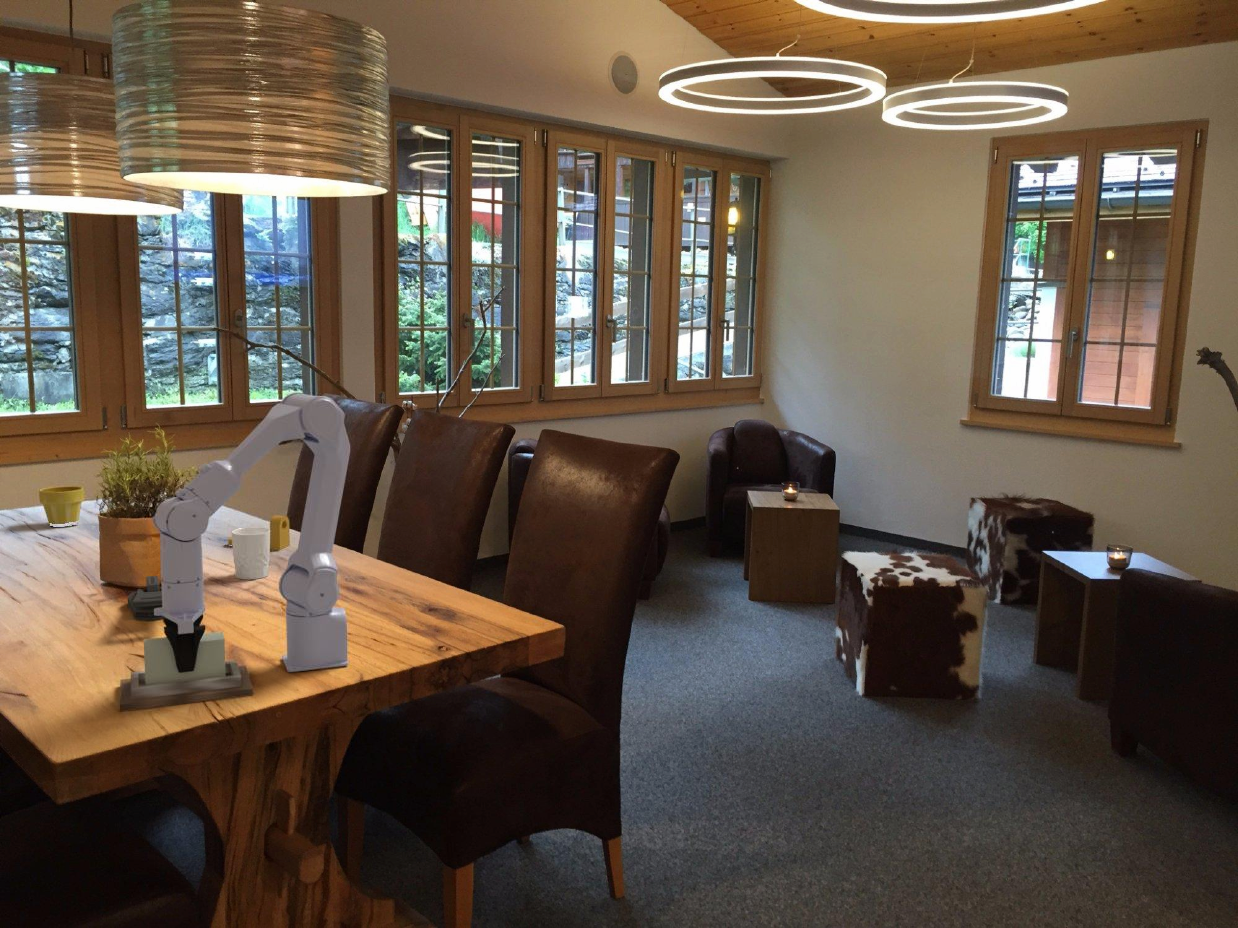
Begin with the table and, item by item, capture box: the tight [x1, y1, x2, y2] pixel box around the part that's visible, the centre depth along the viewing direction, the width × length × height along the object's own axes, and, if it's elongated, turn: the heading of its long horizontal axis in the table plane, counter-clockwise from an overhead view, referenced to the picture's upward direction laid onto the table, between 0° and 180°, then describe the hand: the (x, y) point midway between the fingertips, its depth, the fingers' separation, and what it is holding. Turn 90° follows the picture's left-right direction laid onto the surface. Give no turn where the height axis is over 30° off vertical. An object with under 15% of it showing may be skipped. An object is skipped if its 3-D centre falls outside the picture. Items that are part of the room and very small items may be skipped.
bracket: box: [227, 515, 291, 551], centre depth 249 cm, size 15×4×8 cm, turn 77°
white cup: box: [231, 526, 271, 581], centre depth 222 cm, size 8×8×10 cm
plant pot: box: [38, 485, 85, 524], centre depth 268 cm, size 10×10×10 cm
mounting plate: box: [119, 660, 254, 712], centre depth 154 cm, size 18×11×2 cm, turn 115°
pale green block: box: [143, 631, 226, 686], centre depth 154 cm, size 11×4×7 cm, turn 115°
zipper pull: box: [126, 575, 164, 622], centre depth 191 cm, size 9×7×25 cm
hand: (185, 666), depth 154 cm, fingers closed on pale green block, 4 cm apart
